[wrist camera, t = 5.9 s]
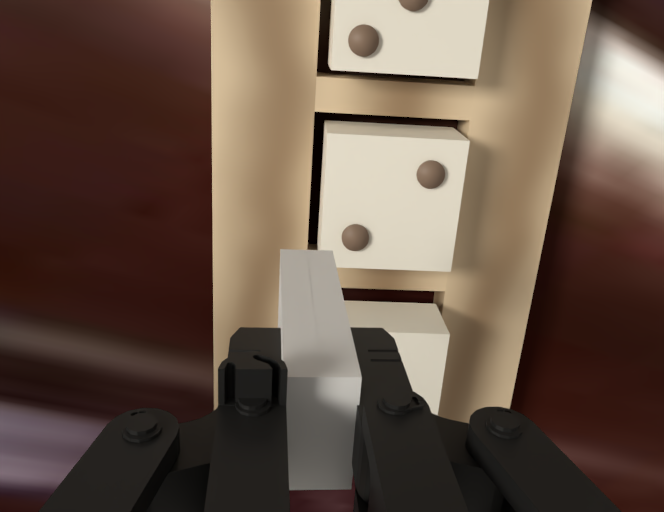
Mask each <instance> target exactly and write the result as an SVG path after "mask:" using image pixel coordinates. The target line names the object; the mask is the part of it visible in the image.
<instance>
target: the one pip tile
mask: <svg viewBox="0 0 664 512" xmlns="http://www.w3.org/2000/svg"><path fill="white" fill-rule="evenodd" d="M344 302H345V307H346V311H347V315H348V320H349V324H350V327H363V328H383V329H384V330H385V331H387V332H388V333H389V334H390V335H391V336H392V337H393V338H394V339H395V342H396V345H397V348H398V352H399V353H400V356H401V359H402V362H403V365H404V367H405V370H406V373H407V376H408V379H409V382H410V384H411V387H412V390H413V391H414V392H416V393H417V394H419V395H420V396H422V397H423V398H424V399H425V401H426V402H427V404H428V405H429V407H430V410H431V413H433V414H435V415H438V409H439V403H440V396H441V390H442V383H443V377H444V370H445V363H446V357H447V350H448V344H449V337H450V333H449V331H448V329H447V327H446V325H445V323H444V320H443V318H442V316H441V314H440V312H439V310H438V307H437V305H436V304H431V303H402V302H373V301H344Z"/></svg>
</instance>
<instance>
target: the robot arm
mask: <svg viewBox="0 0 664 512" xmlns="http://www.w3.org/2000/svg"><path fill="white" fill-rule="evenodd" d="M353 474H354V480H355V486H356V489H355V499H354V510H353V512H621V511H620V510H619V509H618V508H617V507H616V506H615V505H614V504H613V503H612V502H611V501H610V500H609V499H608V498H607V497H606V496H605V495H604V494H603V493H602V492H601V490H600V489H599V488H598V487H597V486H596V485H595V484H594V483H593V482H592V481H591V480H590V479H589V478H588V477H587V476H586V475H585V474H584V473H583V472H582V471H581V470H580V469H579V468H578V467H577V466H576V465H575V464H574V463H573V462H572V461H571V460H570V459H569V458H568V457H567V456H566V455H565V454H564V453H563V452H562V451H561V450H560V449H559V448H558V447H557V446H556V445H555V444H554V443H553V442H552V441H551V440H550V439H549V438H548V437H547V436H546V435H545V434H544V433H543V432H542V431H541V430H540V429H539V428H538V427H537V426H536V425H535V423H534V422H532V421H531V420H530V419H528V418H527V417H526V416H524V415H523V414H521V413H519V412H516V411H514V410H512V409H508V408H503V407H484V408H481V409H478V410H476V411H475V412H474V413H473V414H472V415H471V416H470V420H469V423H465V422H460V421H455V420H450V419H447V418H443V417H440V416H438V415H435V414H433V413H431V410H430V407H429V405H428V404H427V402H426V401H425V399H424V398H423V397H422V396H420V395H419V394H417V393H416V392H414V391H413V390H412V387H411V384H410V382H409V379H408V376H407V373H406V370H405V367H404V365H403V362H402V359H401V356H400V353H399V352H398V348H397V345H396V342H395V339H394V338H393V337H392V336H391V335H390V334H389V333H388V332H387V331H385V330H384V329H383V328H363V327H350V324H349V320H348V315H347V311H346V307H345V302H344V298H343V294H342V289H341V285H340V281H339V276H338V272H337V268H336V263H335V259H334V255H333V251H329V250H292V249H280V276H279V306H278V328H260V327H240V328H239V329H238V330H237V331H236V332H235V333H234V334H233V335H232V336H231V337H230V343H229V352H228V358H226V359H225V360H223V361H222V362H221V364H220V366H219V368H218V407H217V408H216V409H215V410H214V411H213V412H211V413H210V414H208V415H206V416H204V417H202V418H200V419H197V420H193V421H190V422H185V423H180V424H178V421H177V419H176V417H174V416H173V415H172V414H171V413H169V412H167V411H164V410H161V409H157V408H140V409H135V410H130V411H127V412H125V413H123V414H121V415H119V416H117V417H115V418H114V419H113V420H112V421H111V422H110V423H108V424H107V426H106V427H105V428H104V429H103V431H102V432H101V433H100V434H99V436H98V437H97V438H96V440H95V441H94V442H93V443H92V445H91V446H90V447H89V448H88V450H87V451H86V452H85V453H84V455H83V456H82V457H81V459H80V460H79V461H78V462H77V464H76V465H75V466H74V467H73V469H72V470H71V471H70V472H69V474H68V475H67V476H66V478H65V479H64V480H63V481H62V483H61V484H60V485H59V486H58V488H57V489H56V490H55V491H54V493H53V494H52V495H51V497H50V498H49V499H48V500H47V502H46V503H45V504H44V505H43V507H42V508H41V509H40V511H39V512H290V500H289V490H335V489H351V488H352V477H353Z"/></svg>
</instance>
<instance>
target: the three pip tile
mask: <svg viewBox="0 0 664 512" xmlns="http://www.w3.org/2000/svg"><path fill="white" fill-rule="evenodd" d="M488 5H489V0H331V13H330V30H329V47H328V65H329V67H330V69H331V70H338V71H354V72H370V73H387V74H403V75H419V76H435V77H452V78H468V79H478V74H479V67H480V60H481V53H482V46H483V39H484V32H485V26H486V19H487V12H488Z"/></svg>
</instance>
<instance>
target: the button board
mask: <svg viewBox="0 0 664 512" xmlns="http://www.w3.org/2000/svg"><path fill="white" fill-rule="evenodd" d="M320 1H321V0H211V73H212V209H213V345H214V410H215V409H216V408H217V407H218V368H219V366H220V364H221V362H222V361H223V360H225V359H226V358H228V352H229V343H230V337H231V336H232V335H233V334H234V333H235V332H236V331H237V330H238V329H239V328H240V327H260V328H278V306H279V276H280V249H292V250H318V246H317V244H308V228H309V209H310V190H311V171H312V152H313V133H314V114H315V112H328V113H346V114H363V115H381V116H399V117H417V118H434V119H452V120H458V126H457V131H458V132H459V133H461V134H462V135H463V136H464V137H466V138H467V139H468V140H469V141H470V143H469V150H468V157H467V164H466V171H465V178H464V184H463V191H462V198H461V205H460V212H459V219H458V226H457V232H456V239H455V246H454V253H453V260H452V267H451V272H441V271H415V270H389V269H363V268H337V267H336V268H337V272H338V276H339V281H340V285H341V288H362V289H390V290H418V291H435V293H434V300H433V304H436V305H437V307H438V310H439V312H440V314H441V316H442V318H443V320H444V323H445V325H446V327H447V329H448V331H449V333H450V337H449V344H448V350H447V357H446V363H445V370H444V377H443V383H442V390H441V396H440V403H439V409H438V416H440V417H443V418H447V419H450V420H455V421H460V422H465V423H469V420H470V416H471V415H472V414H473V413H474V412H475V411H476V410H478V409H481V408H484V407H503V408H508V409H510V405H511V400H512V395H513V390H514V385H515V380H516V375H517V370H518V365H519V360H520V355H521V350H522V346H523V341H524V336H525V331H526V326H527V321H528V316H529V311H530V306H531V301H532V296H533V291H534V286H535V281H536V276H537V271H538V266H539V261H540V257H541V252H542V247H543V242H544V237H545V232H546V227H547V222H548V217H549V212H550V207H551V202H552V197H553V192H554V187H555V182H556V177H557V172H558V167H559V163H560V158H561V153H562V148H563V143H564V138H565V133H566V128H567V123H568V118H569V113H570V108H571V103H572V98H573V93H574V88H575V83H576V78H577V74H578V69H579V64H580V59H581V54H582V49H583V44H584V39H585V34H586V29H587V24H588V19H589V14H590V9H591V4H592V0H489V5H488V12H487V19H486V26H485V32H484V39H483V46H482V53H481V60H480V67H479V74H478V79H468V78H464V81H455V80H439V79H423V78H406V77H390V76H373V75H357V74H341V73H324V72H317V57H318V39H319V20H320Z"/></svg>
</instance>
